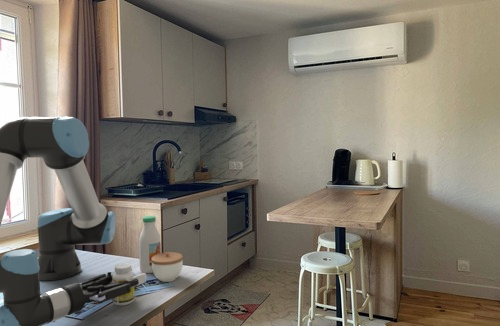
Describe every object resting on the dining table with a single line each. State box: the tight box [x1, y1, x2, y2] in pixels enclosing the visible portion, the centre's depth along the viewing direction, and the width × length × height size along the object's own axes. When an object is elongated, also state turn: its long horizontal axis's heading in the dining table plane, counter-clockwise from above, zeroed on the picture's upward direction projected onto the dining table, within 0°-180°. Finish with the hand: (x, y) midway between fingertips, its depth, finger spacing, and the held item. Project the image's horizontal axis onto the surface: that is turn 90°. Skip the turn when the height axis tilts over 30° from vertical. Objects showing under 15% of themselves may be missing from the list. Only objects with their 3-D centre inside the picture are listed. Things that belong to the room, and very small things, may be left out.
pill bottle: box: [112, 262, 136, 306], centre depth 112 cm, size 6×6×11 cm
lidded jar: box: [151, 251, 184, 283], centre depth 130 cm, size 11×11×9 cm
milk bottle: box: [138, 215, 162, 274], centre depth 139 cm, size 8×8×20 cm
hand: (138, 275), depth 116 cm, fingers closed on pill bottle, 6 cm apart
